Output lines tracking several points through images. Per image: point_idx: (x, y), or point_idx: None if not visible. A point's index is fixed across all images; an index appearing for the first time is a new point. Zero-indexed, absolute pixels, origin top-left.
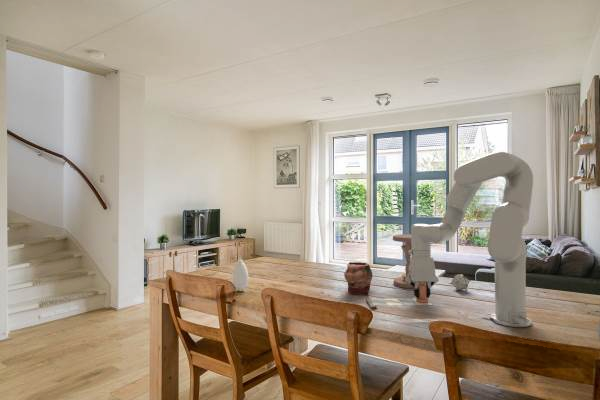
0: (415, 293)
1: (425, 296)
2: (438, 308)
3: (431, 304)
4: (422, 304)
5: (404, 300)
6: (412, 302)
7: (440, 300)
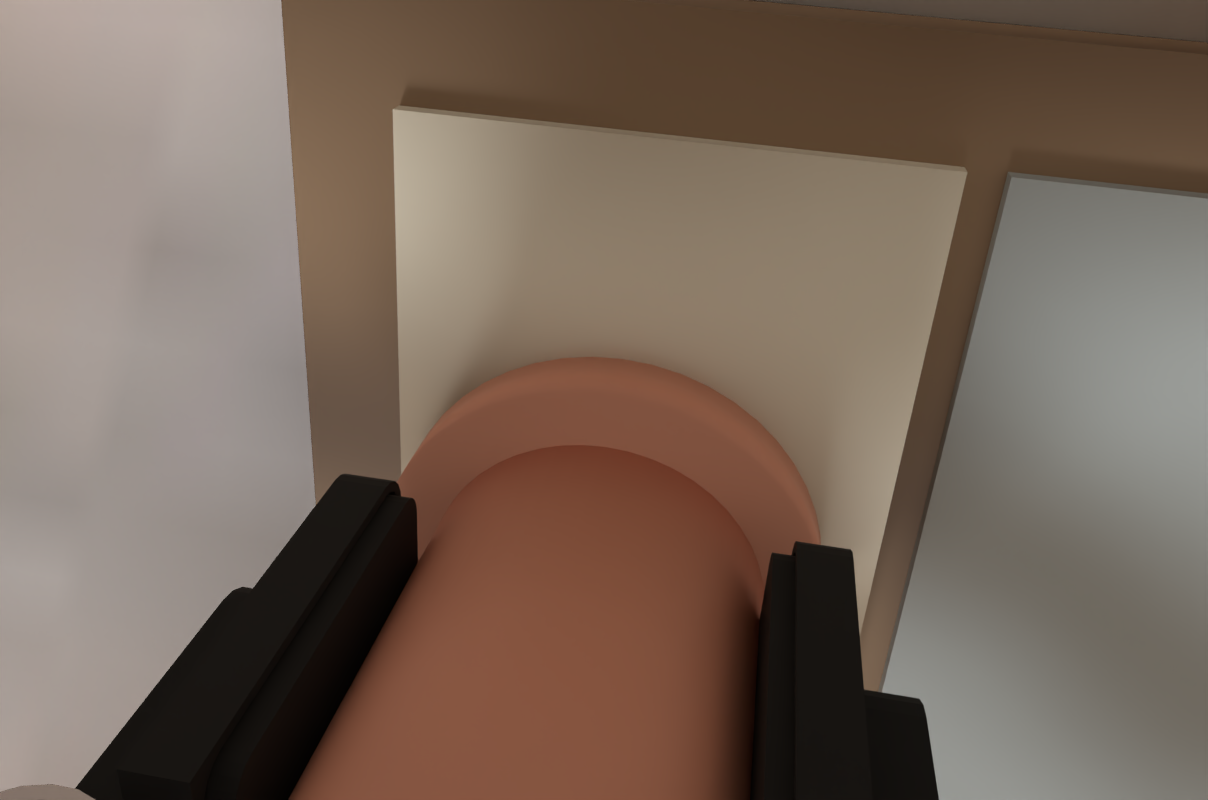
0: (915, 763)
1: (482, 532)
2: (235, 6)
3: (404, 169)
4: (750, 226)
5: (1174, 759)
6: (1018, 513)
7: (27, 694)
